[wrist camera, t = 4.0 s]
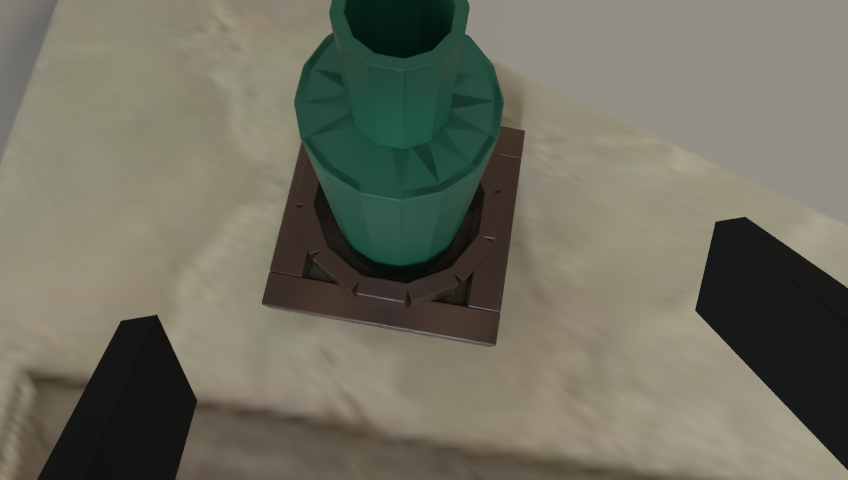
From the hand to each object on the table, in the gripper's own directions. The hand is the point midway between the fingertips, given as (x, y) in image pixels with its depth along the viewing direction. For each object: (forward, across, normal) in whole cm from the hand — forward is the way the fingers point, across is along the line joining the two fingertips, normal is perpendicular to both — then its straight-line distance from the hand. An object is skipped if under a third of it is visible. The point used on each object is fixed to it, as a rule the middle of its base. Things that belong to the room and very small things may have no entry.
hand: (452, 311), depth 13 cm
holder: (+17, 0, -7) cm, 18 cm away
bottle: (+17, 0, -7) cm, 18 cm away
